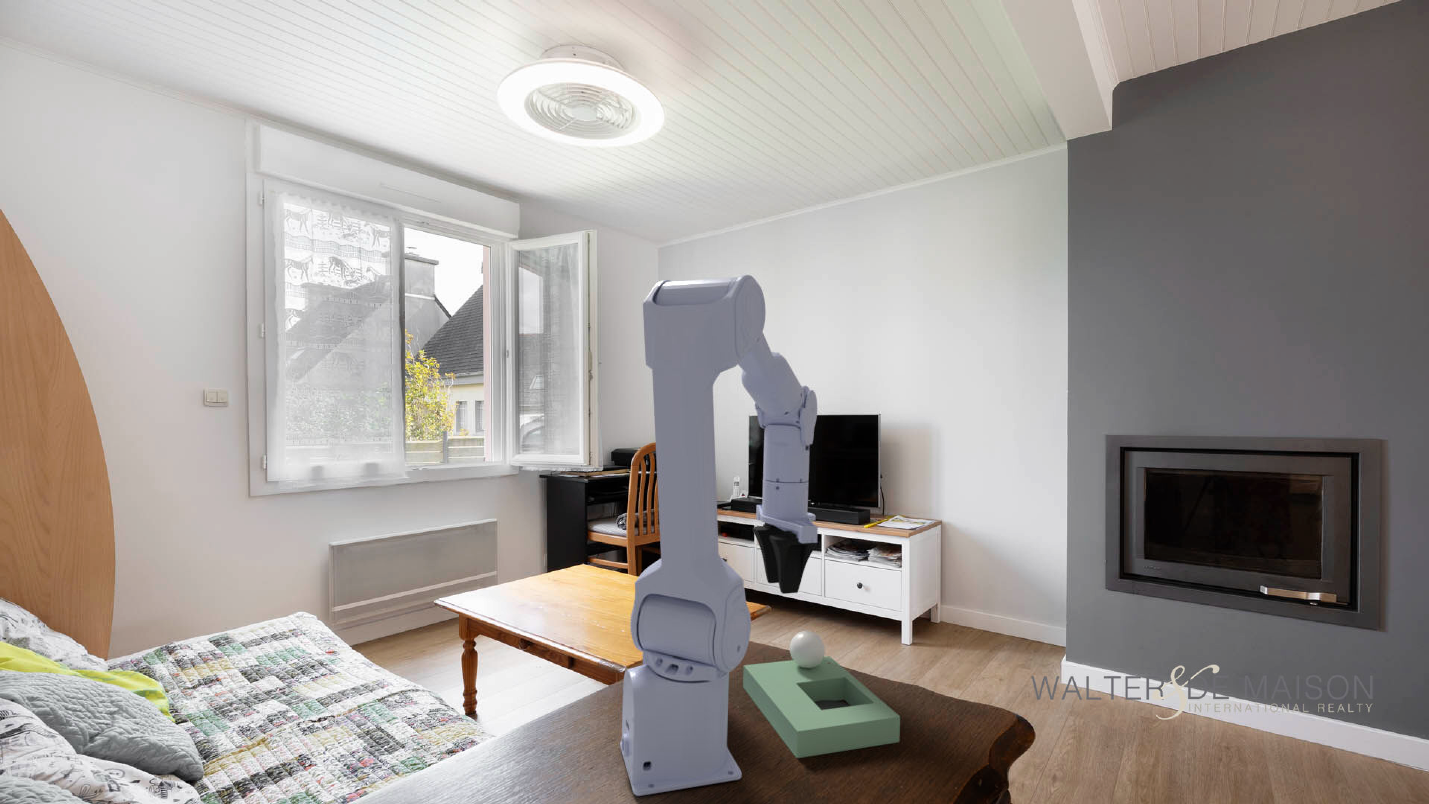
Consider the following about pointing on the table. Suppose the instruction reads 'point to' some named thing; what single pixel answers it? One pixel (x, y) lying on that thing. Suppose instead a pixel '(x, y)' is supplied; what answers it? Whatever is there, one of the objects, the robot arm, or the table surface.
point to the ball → (807, 649)
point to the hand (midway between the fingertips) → (782, 587)
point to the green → (819, 707)
